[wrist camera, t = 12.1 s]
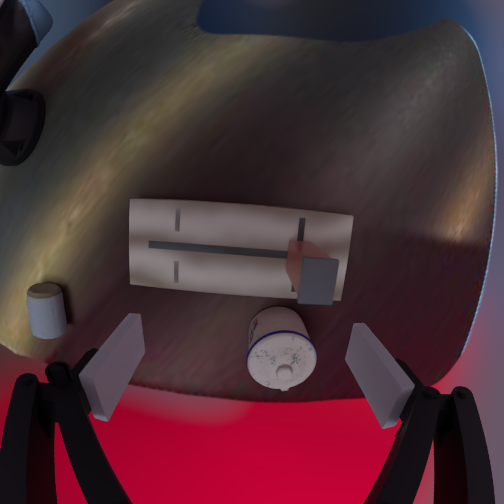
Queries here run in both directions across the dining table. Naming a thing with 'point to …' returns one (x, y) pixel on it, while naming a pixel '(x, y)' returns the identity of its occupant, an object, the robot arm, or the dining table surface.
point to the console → (228, 245)
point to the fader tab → (311, 273)
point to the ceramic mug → (46, 310)
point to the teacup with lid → (279, 349)
